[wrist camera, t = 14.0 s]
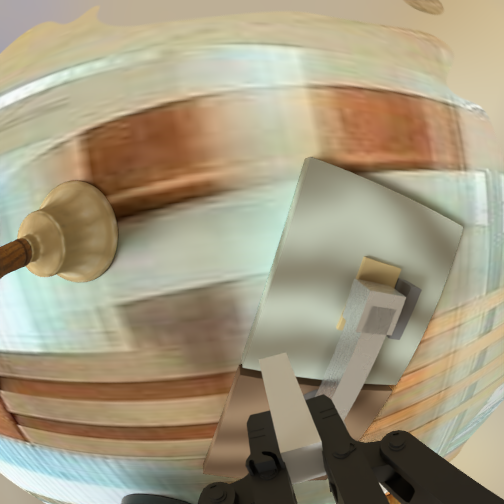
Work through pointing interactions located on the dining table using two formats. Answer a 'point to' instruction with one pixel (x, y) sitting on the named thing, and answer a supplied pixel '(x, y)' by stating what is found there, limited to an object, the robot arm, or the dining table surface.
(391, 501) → the pastry
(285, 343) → the door board
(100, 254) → the hand bell
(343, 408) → the swing bar
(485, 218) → the dining table surface
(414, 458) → the robot arm
